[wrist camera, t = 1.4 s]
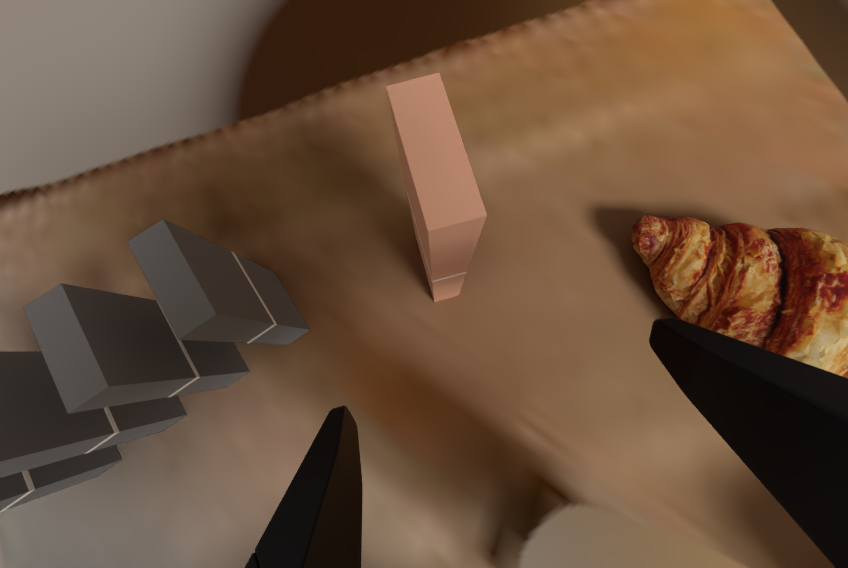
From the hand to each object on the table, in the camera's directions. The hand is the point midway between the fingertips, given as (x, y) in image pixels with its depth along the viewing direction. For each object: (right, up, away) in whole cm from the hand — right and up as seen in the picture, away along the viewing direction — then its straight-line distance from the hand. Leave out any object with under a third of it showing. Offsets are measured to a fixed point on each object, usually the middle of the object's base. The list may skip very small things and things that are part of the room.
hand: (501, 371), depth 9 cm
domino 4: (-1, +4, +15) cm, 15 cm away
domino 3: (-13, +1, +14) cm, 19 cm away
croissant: (+20, 0, +13) cm, 24 cm away
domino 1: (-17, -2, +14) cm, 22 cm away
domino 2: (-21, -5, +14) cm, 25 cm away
